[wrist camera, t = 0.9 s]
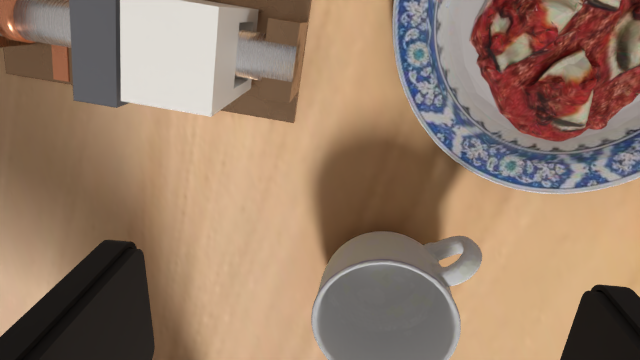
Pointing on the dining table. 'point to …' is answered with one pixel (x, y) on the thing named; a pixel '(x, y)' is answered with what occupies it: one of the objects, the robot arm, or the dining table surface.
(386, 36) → the dining table surface
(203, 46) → the sleeve
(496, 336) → the dining table surface
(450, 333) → the teacup
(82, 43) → the dark grey notched block
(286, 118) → the linear slide
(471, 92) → the ceramic plate
